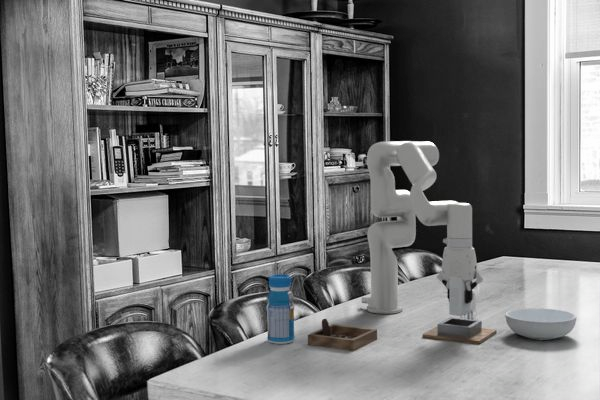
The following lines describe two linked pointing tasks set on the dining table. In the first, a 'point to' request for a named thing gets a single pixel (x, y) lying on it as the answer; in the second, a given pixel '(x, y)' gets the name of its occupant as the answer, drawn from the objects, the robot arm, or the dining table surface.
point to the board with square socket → (460, 331)
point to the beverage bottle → (280, 310)
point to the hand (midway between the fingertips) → (459, 301)
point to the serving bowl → (540, 322)
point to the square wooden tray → (360, 334)
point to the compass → (327, 330)
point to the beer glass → (473, 304)
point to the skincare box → (458, 297)
